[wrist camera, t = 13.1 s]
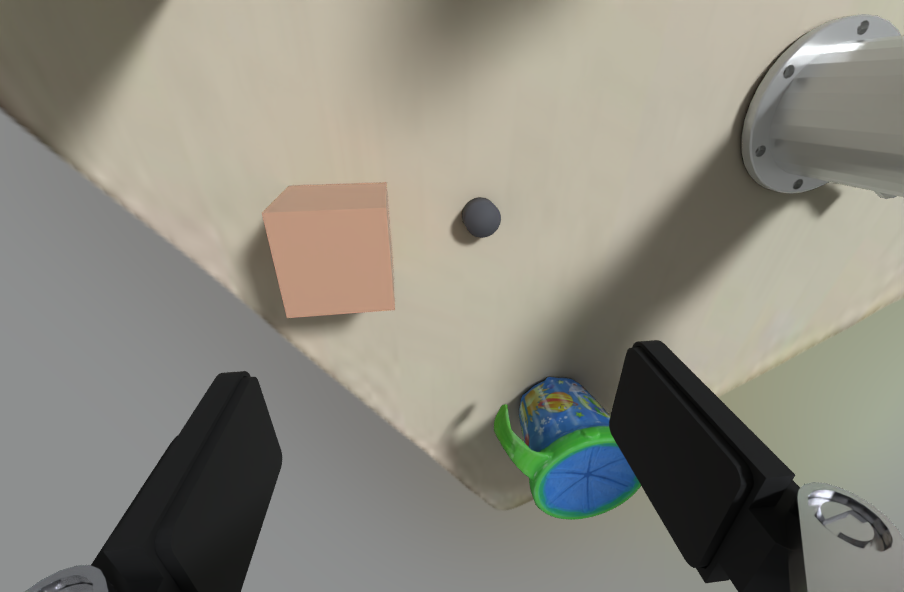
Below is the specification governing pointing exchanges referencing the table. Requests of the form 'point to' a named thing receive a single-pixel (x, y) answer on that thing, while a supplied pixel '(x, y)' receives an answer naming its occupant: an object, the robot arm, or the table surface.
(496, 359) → the table surface
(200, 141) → the table surface
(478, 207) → the dark grey pebble
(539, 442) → the snack cup
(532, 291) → the table surface
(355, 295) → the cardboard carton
